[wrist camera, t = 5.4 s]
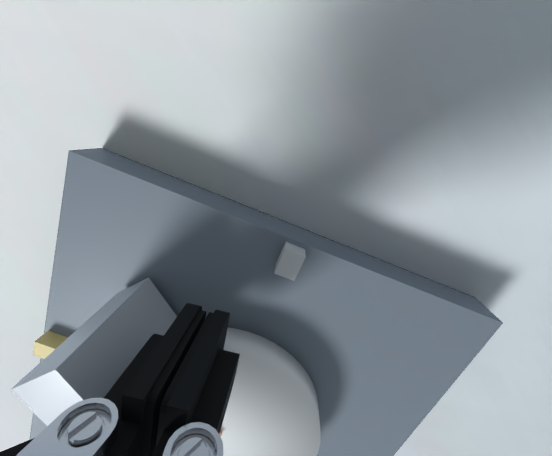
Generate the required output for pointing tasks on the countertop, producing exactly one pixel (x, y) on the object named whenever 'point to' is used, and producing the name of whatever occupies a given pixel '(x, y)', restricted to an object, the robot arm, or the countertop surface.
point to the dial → (156, 320)
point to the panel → (265, 295)
